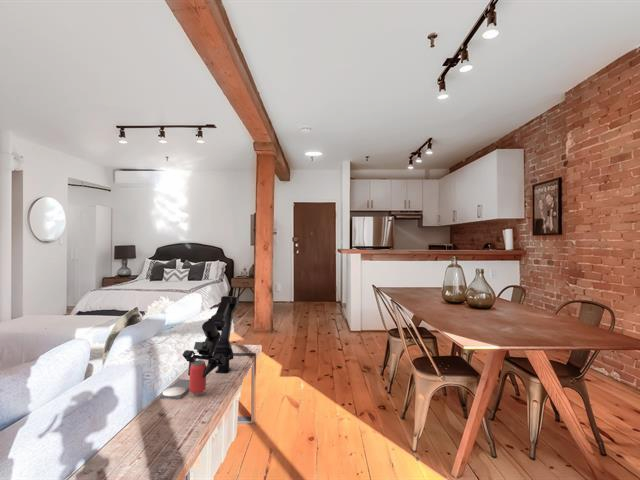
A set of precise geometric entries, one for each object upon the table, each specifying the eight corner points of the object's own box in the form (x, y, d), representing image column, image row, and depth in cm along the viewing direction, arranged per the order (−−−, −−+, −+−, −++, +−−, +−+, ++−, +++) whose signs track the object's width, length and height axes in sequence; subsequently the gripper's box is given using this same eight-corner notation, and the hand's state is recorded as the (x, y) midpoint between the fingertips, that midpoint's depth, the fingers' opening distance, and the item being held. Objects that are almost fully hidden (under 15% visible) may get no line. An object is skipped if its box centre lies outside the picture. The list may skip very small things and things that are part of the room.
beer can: (196, 395, 140) (196, 366, 141) (185, 391, 144) (186, 363, 144) (208, 389, 146) (209, 361, 146) (198, 386, 149) (199, 358, 150)
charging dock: (178, 381, 159) (178, 378, 159) (197, 382, 159) (197, 379, 159) (158, 399, 140) (158, 395, 141) (179, 399, 140) (180, 396, 140)
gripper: (185, 331, 151) (168, 365, 140) (223, 335, 147) (208, 369, 136) (195, 344, 159) (179, 377, 148) (231, 348, 155) (218, 381, 144)
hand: (196, 376), depth 144 cm, fingers closed on beer can, 7 cm apart
